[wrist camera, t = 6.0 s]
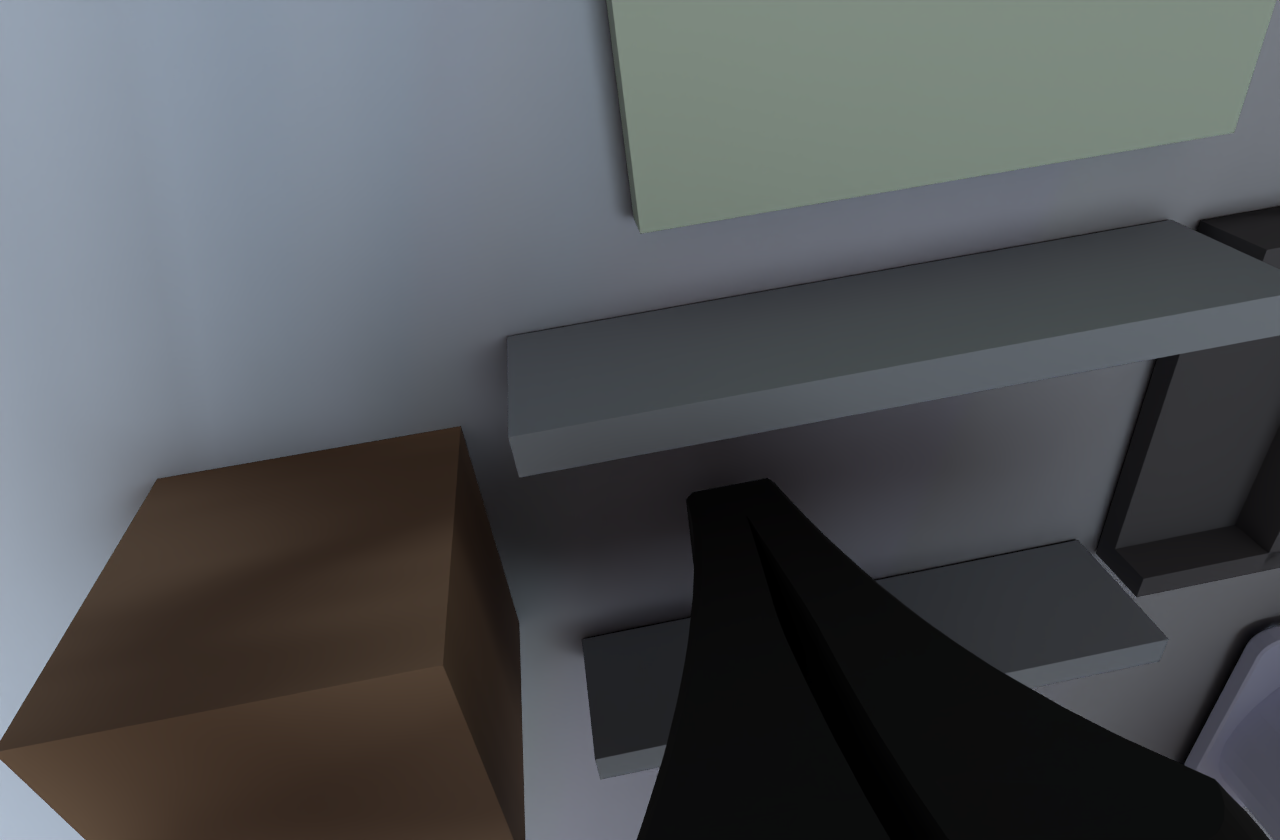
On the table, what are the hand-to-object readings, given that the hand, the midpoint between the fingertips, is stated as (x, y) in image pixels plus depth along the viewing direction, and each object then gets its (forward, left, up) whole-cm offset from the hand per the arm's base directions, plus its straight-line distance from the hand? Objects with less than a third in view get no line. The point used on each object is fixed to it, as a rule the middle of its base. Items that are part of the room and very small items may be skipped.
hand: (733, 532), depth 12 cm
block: (+6, 0, -1) cm, 6 cm away
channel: (-2, 0, -1) cm, 2 cm away
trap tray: (-9, 0, -1) cm, 9 cm away
